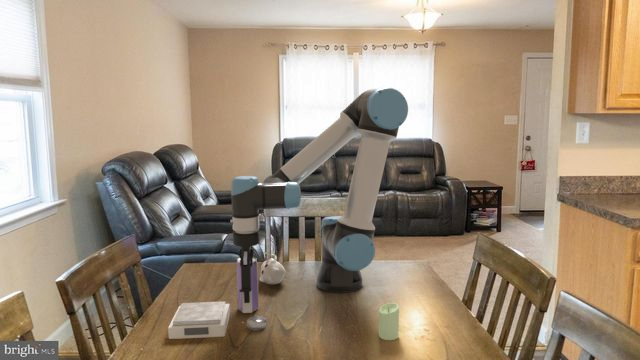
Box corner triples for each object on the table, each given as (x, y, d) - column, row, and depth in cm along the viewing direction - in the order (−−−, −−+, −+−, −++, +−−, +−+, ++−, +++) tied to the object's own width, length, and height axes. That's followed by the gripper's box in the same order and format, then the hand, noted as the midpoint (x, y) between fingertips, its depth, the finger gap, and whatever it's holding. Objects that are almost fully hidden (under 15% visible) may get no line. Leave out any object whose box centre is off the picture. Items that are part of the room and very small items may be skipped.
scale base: (230, 313, 137) (229, 303, 137) (224, 336, 123) (224, 325, 123) (179, 315, 136) (179, 305, 136) (168, 339, 122) (167, 328, 122)
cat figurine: (267, 248, 169) (271, 256, 154) (287, 259, 170) (293, 267, 156) (254, 272, 168) (256, 282, 154) (274, 283, 170) (278, 294, 155)
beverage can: (254, 313, 137) (253, 263, 135) (234, 312, 138) (233, 261, 136) (261, 305, 143) (260, 256, 141) (242, 304, 144) (240, 255, 142)
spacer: (266, 322, 132) (266, 315, 131) (266, 331, 127) (265, 323, 126) (248, 323, 131) (247, 316, 131) (246, 331, 126) (246, 324, 126)
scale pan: (225, 304, 136) (225, 301, 135) (220, 323, 124) (220, 319, 124) (182, 306, 135) (182, 303, 134) (173, 325, 123) (172, 321, 123)
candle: (385, 342, 120) (385, 310, 119) (375, 333, 124) (375, 303, 123) (402, 338, 122) (402, 307, 121) (391, 330, 126) (392, 300, 125)
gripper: (235, 223, 146) (237, 295, 150) (229, 239, 128) (232, 322, 131) (260, 222, 147) (262, 295, 150) (257, 238, 128) (259, 321, 131)
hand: (248, 307), depth 140 cm, fingers closed on beverage can, 6 cm apart
